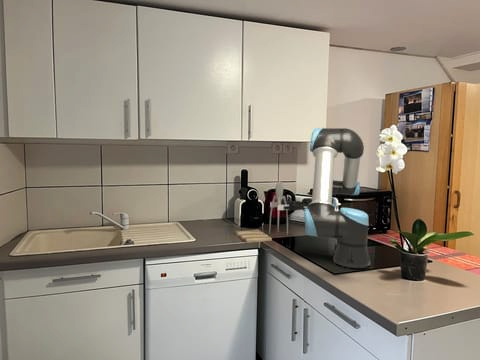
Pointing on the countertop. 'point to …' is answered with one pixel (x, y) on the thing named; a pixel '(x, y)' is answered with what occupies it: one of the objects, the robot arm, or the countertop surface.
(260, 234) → the trivet
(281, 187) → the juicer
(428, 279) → the countertop surface
